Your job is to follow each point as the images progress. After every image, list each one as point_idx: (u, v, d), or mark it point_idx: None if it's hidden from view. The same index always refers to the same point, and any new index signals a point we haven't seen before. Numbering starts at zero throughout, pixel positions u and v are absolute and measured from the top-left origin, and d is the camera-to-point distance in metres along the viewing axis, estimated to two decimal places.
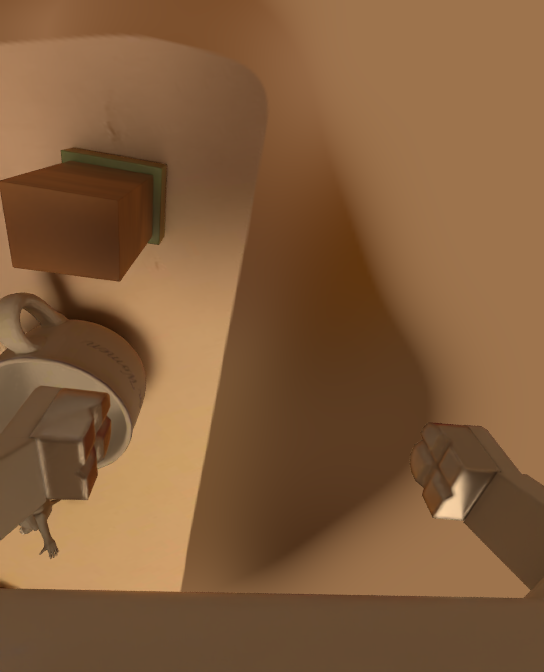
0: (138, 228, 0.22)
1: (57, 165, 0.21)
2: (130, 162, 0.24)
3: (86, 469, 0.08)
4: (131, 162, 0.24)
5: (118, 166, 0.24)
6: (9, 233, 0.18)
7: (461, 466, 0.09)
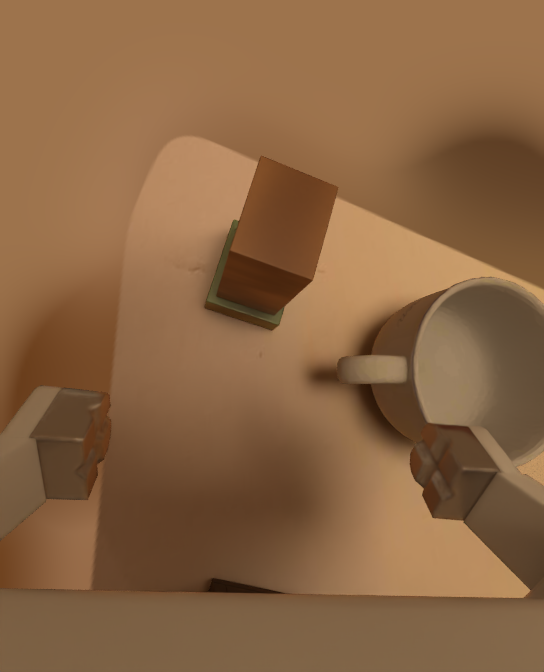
0: None
1: (219, 283, 0.22)
2: None
3: (86, 469, 0.08)
4: (225, 244, 0.25)
5: (227, 255, 0.25)
6: (278, 265, 0.17)
7: (461, 467, 0.09)
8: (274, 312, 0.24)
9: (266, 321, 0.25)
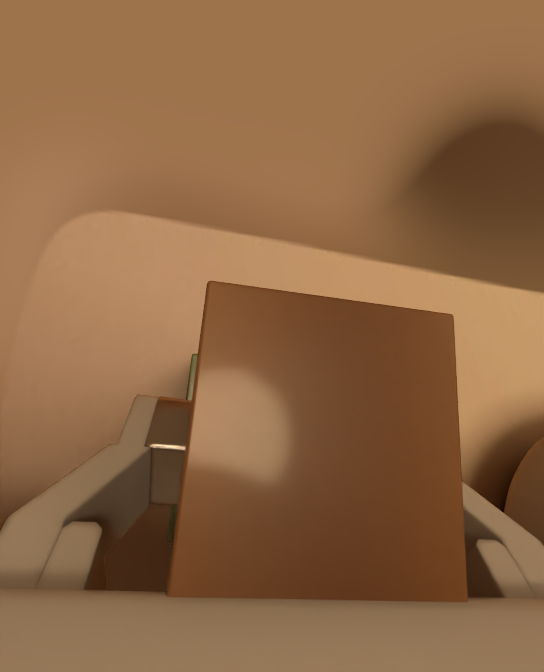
0: None
1: None
2: None
3: None
4: None
5: None
6: None
7: None
8: None
9: None
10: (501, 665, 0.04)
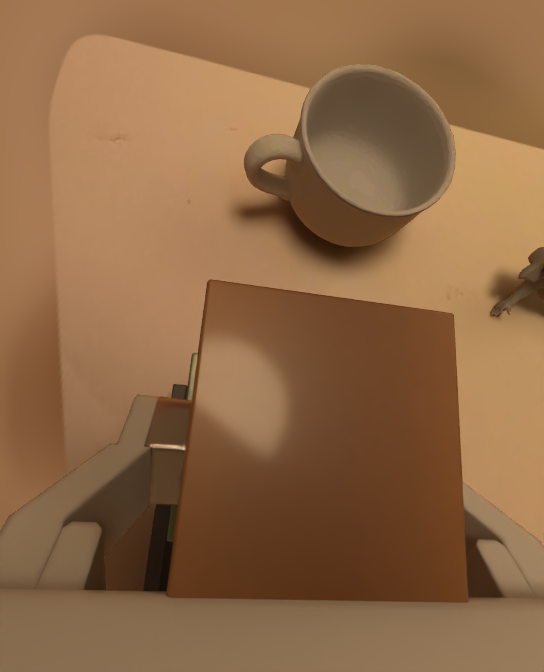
0: None
1: None
2: None
3: None
4: None
5: None
6: None
7: None
8: None
9: None
10: (501, 665, 0.04)
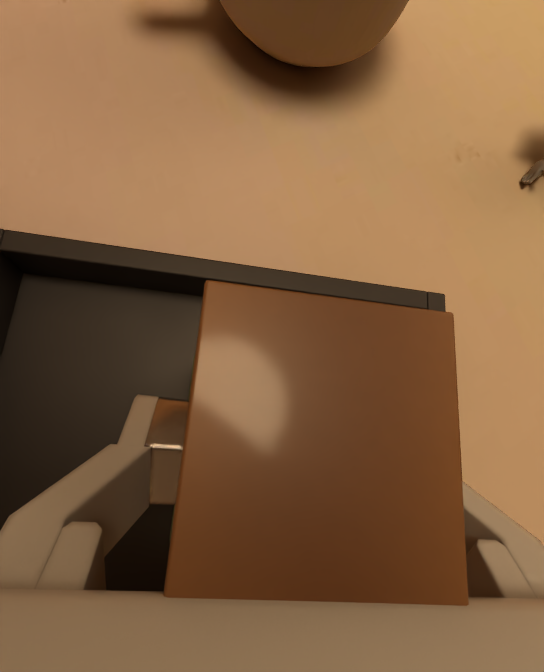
0: None
1: None
2: None
3: None
4: None
5: None
6: None
7: None
8: None
9: None
10: (501, 665, 0.04)
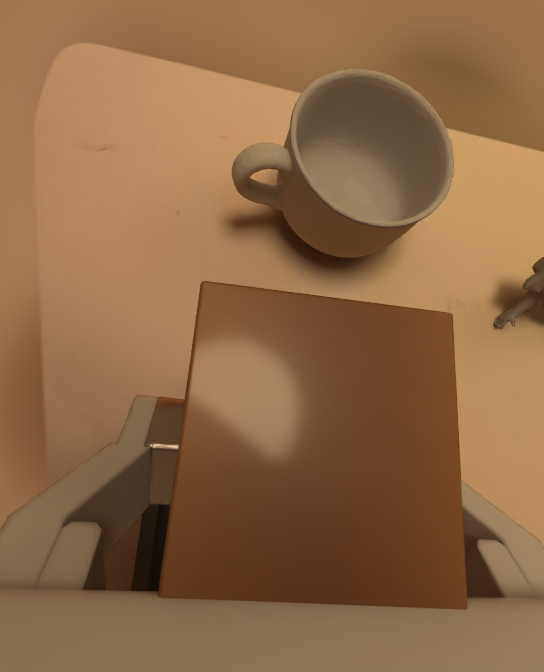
0: None
1: None
2: None
3: None
4: None
5: None
6: None
7: None
8: None
9: None
10: (501, 665, 0.04)
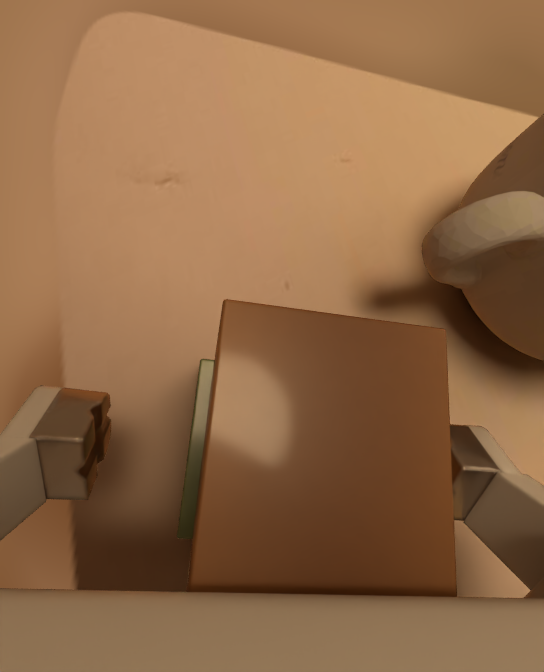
0: None
1: None
2: (193, 411, 0.14)
3: (86, 469, 0.08)
4: (194, 410, 0.14)
5: (201, 433, 0.13)
6: None
7: (460, 467, 0.09)
8: None
9: None
10: (501, 665, 0.04)
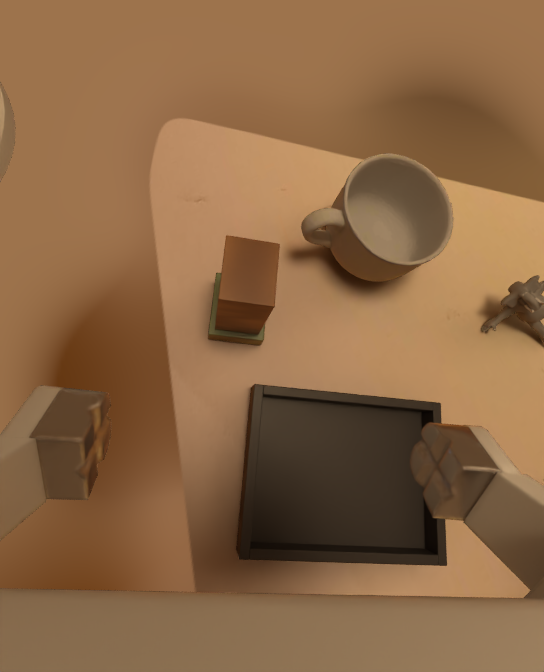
0: None
1: (215, 320, 0.32)
2: None
3: (86, 469, 0.08)
4: (214, 291, 0.35)
5: (216, 299, 0.35)
6: (251, 302, 0.27)
7: (460, 467, 0.09)
8: (258, 332, 0.34)
9: (254, 340, 0.35)
10: (501, 665, 0.04)
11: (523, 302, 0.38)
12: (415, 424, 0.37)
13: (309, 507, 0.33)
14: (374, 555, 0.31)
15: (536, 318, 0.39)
